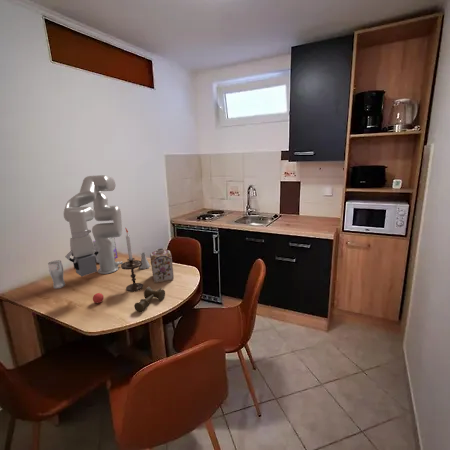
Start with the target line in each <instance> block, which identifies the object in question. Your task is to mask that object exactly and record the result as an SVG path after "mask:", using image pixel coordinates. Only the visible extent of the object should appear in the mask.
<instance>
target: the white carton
mask: <svg viewBox="0 0 450 450" xmlns="http://www.w3.org/2000/svg"><path fill="white" fill-rule="evenodd" d="M115 238H116V237H113V238H108V239H109V240H110V241H111V242H112V245H113V251H114V258H115V260H116V259H117V258H119V256H118V251H117V245H116V239H115ZM92 242H93V245H94V246H96V242H95V240H92ZM94 250H95V251H96V249H94ZM96 264H99V259H98V254H97V256H96Z"/></svg>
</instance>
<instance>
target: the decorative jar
mask: <svg viewBox="0 0 450 450" xmlns="http://www.w3.org/2000/svg"><path fill="white" fill-rule="evenodd" d="M149 258H150V267H151V272H152V277H153V278H152V279H153V283H154V284H155V282H156V283H161V281H162V282H167V280H168V281H172V279H173V280H174V279H175V278H174V267H173V266H174V265H173V259H172V258H173V257H172V253H171V251H170V250H168V249H165V248H164V247H163V248H162V247H160V248H156V249H155V250H154V251H152V252H151V253H149Z"/></svg>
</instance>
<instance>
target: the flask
mask: <svg viewBox="0 0 450 450" xmlns="http://www.w3.org/2000/svg"><path fill="white" fill-rule="evenodd" d="M146 254H147V253H146V252H140V255H141V257H140V259H141V260H140V261H141V262H142V265H141V266H140V267H138V268H139V270H145V269H146V268H147V269H149V268H150V267H151V264H150V263H149V261H148V259H147V256H146Z"/></svg>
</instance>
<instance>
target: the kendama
mask: <svg viewBox="0 0 450 450" xmlns="http://www.w3.org/2000/svg"><path fill="white" fill-rule="evenodd" d="M143 296H144V298H141V299H140V300H139V302H135V303H134V305H133V308H134V310H135V311H136V312H137V313H143V312H144V310H145V308H147V307H149V303H150V302H151V301H152V299H153V298H156V299H157V300H158V301H160V302H161V300H162V301H163V300H164V299H165V297H166V290H165V289H164V288H163V289H162V287H160V288H158V289H157V290H154V289H152V287H151V286H147V287H146V288H145V289H144V292H143Z"/></svg>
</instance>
